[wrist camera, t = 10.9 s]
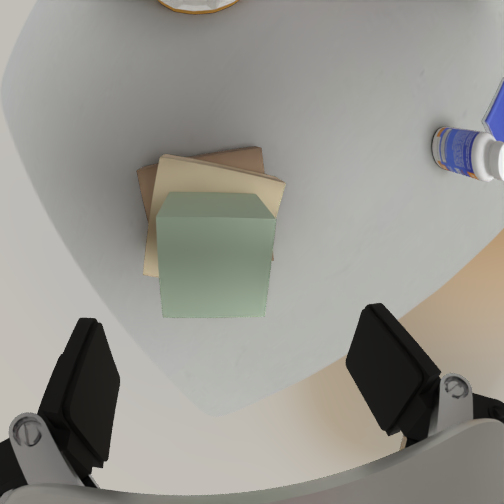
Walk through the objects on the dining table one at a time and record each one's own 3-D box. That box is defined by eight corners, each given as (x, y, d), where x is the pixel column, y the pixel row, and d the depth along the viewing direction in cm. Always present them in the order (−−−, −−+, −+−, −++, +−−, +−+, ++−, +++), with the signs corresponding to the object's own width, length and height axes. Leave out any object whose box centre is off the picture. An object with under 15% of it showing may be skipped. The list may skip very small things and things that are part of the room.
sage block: (169, 191, 19) (155, 216, 13) (255, 193, 20) (276, 219, 14) (171, 270, 21) (162, 317, 16) (249, 270, 22) (264, 316, 17)
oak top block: (165, 153, 20) (159, 157, 18) (275, 176, 23) (285, 183, 20) (148, 258, 24) (143, 275, 21) (248, 274, 26) (254, 291, 23)
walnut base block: (143, 166, 23) (136, 170, 20) (254, 146, 24) (261, 147, 22) (167, 266, 27) (164, 281, 25) (266, 247, 28) (273, 260, 26)
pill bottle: (432, 172, 28) (494, 193, 19) (428, 127, 25) (493, 138, 17) (458, 165, 28) (516, 184, 19) (455, 124, 26) (516, 135, 17)
